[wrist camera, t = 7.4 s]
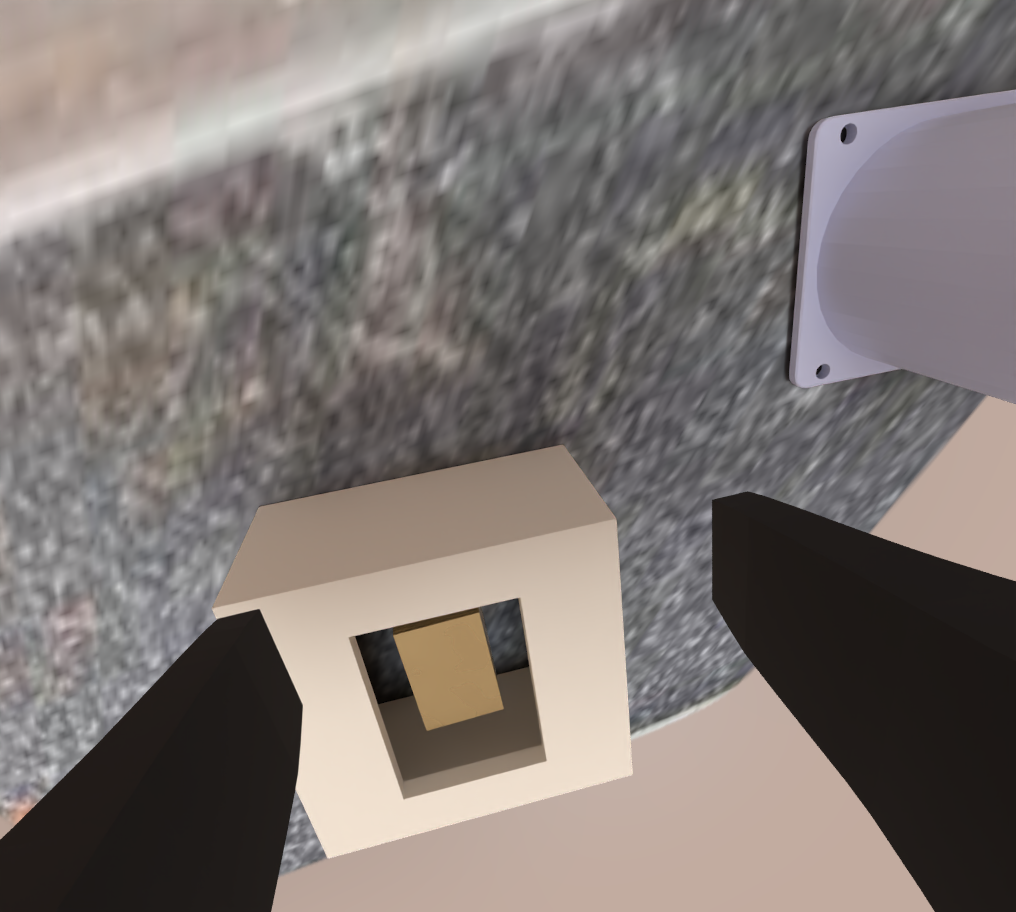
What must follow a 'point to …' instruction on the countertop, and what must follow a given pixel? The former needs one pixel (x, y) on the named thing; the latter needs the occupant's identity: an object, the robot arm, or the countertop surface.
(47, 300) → the countertop surface
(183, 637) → the countertop surface
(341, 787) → the box
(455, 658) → the block
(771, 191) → the countertop surface
